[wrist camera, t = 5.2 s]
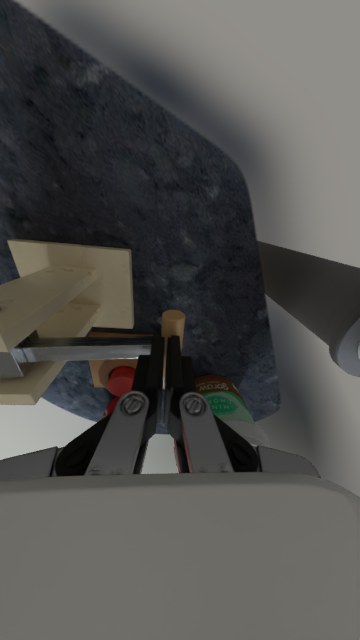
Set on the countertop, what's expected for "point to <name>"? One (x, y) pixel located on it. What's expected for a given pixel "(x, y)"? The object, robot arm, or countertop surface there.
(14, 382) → the bracket
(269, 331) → the countertop surface
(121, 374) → the button
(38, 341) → the lever
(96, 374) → the button block
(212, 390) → the food container
